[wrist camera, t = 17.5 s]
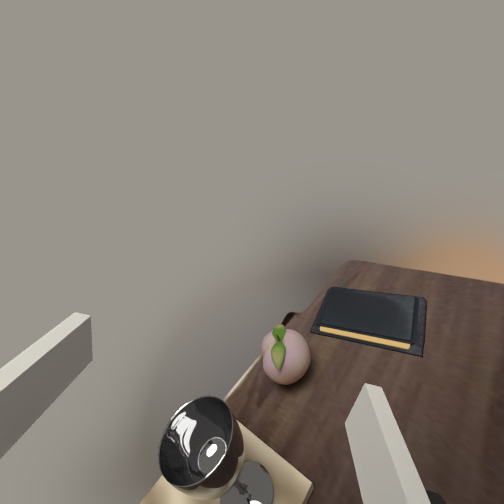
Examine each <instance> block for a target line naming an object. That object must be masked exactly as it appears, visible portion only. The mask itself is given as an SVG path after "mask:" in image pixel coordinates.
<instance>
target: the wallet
mask: <svg viewBox="0 0 504 504" xmlns="http://www.w3.org/2000/svg"><path fill="white" fill-rule="evenodd" d="M426 310H427V301H426V300H425V298H424V297H417V296H409V295H400V294H391V293H381V292H371V291H363V290H355V289H347V288H339V287H331V288H330V289H328V291H327V293H326V295H325V297H324V300H323V302H322V305H321V307H320V310H319V312H318V314H317V316H316V319H315V321H314V323H313V326H312V328H311V331H310V332H311V333H314V334H318V335H323V336H328V337H333V338H338V339H342V340H347V341H351V342H356V343H361V344H365V345H370V346H374V347H379V348H383V349H388V350H392V351H397V352H401V353H406V354H410V355H415V356H420V357H423V348H424V342H425V327H426Z"/></svg>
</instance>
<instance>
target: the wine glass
mask: <svg viewBox="0 0 504 504" xmlns="http://www.w3.org/2000/svg"><path fill="white" fill-rule="evenodd" d="M244 460H245V445H244V440H243V435H242V432H241V430H240V427H239V424H238V422H237V420H236V418H235V417H234V415H233V413H232V411H231V410H230V408H229V407H228V406H227V404H226V403H225V402H224V401H223V400H221V399H220V398H218V397H215V396H210V395H208V396H201V397H197V398H195V399H193V400H191V401H189V402H188V403H186V404H185V405H184V406H182V407H181V408H180V409H179V410H178V411H177V412H176V413H175V414H174V416H173V417H172V418H171V420H170V421H169V423H168V424H167V426H166V428H165V430H164V432H163V435H162V437H161V440H160V444H159V449H158V464H159V469H160V471H161V473H162V475H163V477H164V478H165V479H166V480H167V482H168V483H170V484H171V485H172V486H173V487H174V488H176V489H177V490H178V491H180V492H181V493H183V494H184V495H186V496H189V497H191V498H194V499H197V500H205V501H209V500H214V499H218V498H220V504H272V503H273V484H272V480H271V477H270V474H269V473H268V471H267V469H266V468H265V467H264V466H263V465H262V464H260V463H259V462H257V461H253V460H248V461H244Z"/></svg>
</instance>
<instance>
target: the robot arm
mask: <svg viewBox="0 0 504 504" xmlns="http://www.w3.org/2000/svg"><path fill="white" fill-rule="evenodd" d="M91 361H92V338H91V316H89V315H85V314H81V313H76V312H75V313H73V314H72V315H71V316H70V317H68V318H67V319H66V320H64V321H63V322H62V323H60V324H59V325H58V326H56V327H55V328H54V329H52V330H51V331H50V332H49V333H47V334H46V335H44V336H43V337H42V338H40V339H39V340H38V341H37V342H35V343H34V344H32V345H31V346H30V347H29V348H27V349H26V350H25V351H23V352H22V353H21V354H19V355H18V356H17V357H15V358H14V359H13V360H12V361H10V362H9V363H7V364H6V365H5V366H4V367H2V368H1V369H0V459H1V458H2V457H3V456H4V454H5V453H6V452H7V451H8V450H9V449H10V448H11V447H12V446H13V445H14V444H15V442H17V440H18V439H19V438H20V437H21V436H22V435H23V434H24V433H25V432H26V431H27V430H28V429H29V428H30V427H31V425H32V424H33V423H34V422H35V421H36V420H37V419H38V418H39V417H40V416H41V415H42V414H43V413H44V411H45V410H46V409H47V408H48V407H49V406H50V405H51V403H53V402H54V401H55V399H56V398H57V397H58V396H59V395H60V394H61V393H62V392H63V391H64V390H65V389H66V388H67V387H68V386H69V384H70V383H71V382H72V381H73V380H74V379H75V378H76V377H77V376H78V375H79V374H80V373H81V371H83V369H84V368H85V367H86V366H87V365H88V364H89V363H90V362H91ZM345 426H346V431H347V435H348V439H349V444H350V448H351V452H352V457H353V461H354V465H355V470H356V474H357V478H358V483H359V487H360V491H361V496H362V500H363V504H446V502H445V501H444V500H443V498H442V497H441V496H440V494H438V493H434V492H430V491H427V490H425V489H424V486H423V484H422V482H421V479H420V477H419V475H418V472H417V470H416V467H415V465H414V463H413V460H412V458H411V456H410V453H409V451H408V449H407V446H406V444H405V442H404V439H403V437H402V434H401V432H400V430H399V427H398V425H397V423H396V420H395V418H394V416H393V413H392V411H391V409H390V406H389V404H388V401H387V399H386V397H385V394H384V392H383V390H382V387H378V386H374V385H370V384H366V383H365V384H364V386H363V388H362V390H361V392H360V394H359V396H358V398H357V400H356V402H355V404H354V406H353V408H352V410H351V412H350V414H349V416H348V418H347V420H346V422H345Z"/></svg>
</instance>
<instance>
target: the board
mask: <svg viewBox="0 0 504 504" xmlns="http://www.w3.org/2000/svg"><path fill="white" fill-rule="evenodd" d="M237 422H238V421H237ZM238 424H239V427H240V430H241V432H242V435H243V440H244V445H245V460H244V461H248V460H253V461H257V462H259V463H260V464H262V465H263V466H264V467H265V468H266V469H267V471H268V473H269V474H270V477H271V480H272V484H273V503H272V504H307V502H308V500H309V497H310V495H311V493H312V491H313V489H314V486H313V484H312V482H311V481H309V480H308V479H307V478H306V477H305V476H303V475H302V474H301V473H300V472H299V471H297V470H296V469H295V468H294V467H293V466H291V465H290V464H289V463H288V462H287V461H285V460H284V459H283V458H282V457H281V456H279V455H278V454H277V453H276V452H274V451H273V450H272V449H271V448H270V447H268V446H267V445H266V444H265V443H264V442H262V441H261V440H260V439H259V438H258V437H256V436H255V435H254V434H253V433H252V432H250V431H249V430H248V429H247V428H246V427H244V426H243V425H242V424H241V423H240V422H238ZM140 504H220V498H218V499H214V500H209V501H205V500H197V499H194V498H191V497H189V496H186V495H184V494H183V493H181V492H180V491H178V490H177V489H176V488H174V487H173V486H172V485H171V484H170V483H168V482H167V480H166V479H165V478H164V477H163V475H162V476H161V478H160V479H159V480H158V481H157V483H156V484H155V485H154V486H153V488H152V489H151V490H150V491H149V493H148V494H147V495H146V496H145V498H144V499H143V500H142V501H141V503H140Z"/></svg>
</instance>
